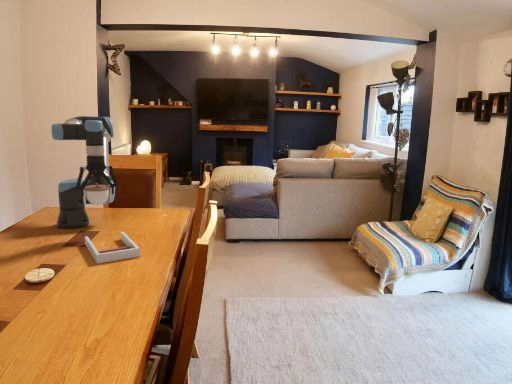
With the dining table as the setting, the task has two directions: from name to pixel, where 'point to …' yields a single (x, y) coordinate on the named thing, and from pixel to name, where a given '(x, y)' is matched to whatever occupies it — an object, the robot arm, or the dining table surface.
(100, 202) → the lidded jar
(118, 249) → the tray
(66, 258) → the dining table surface
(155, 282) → the dining table surface
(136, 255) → the channel
